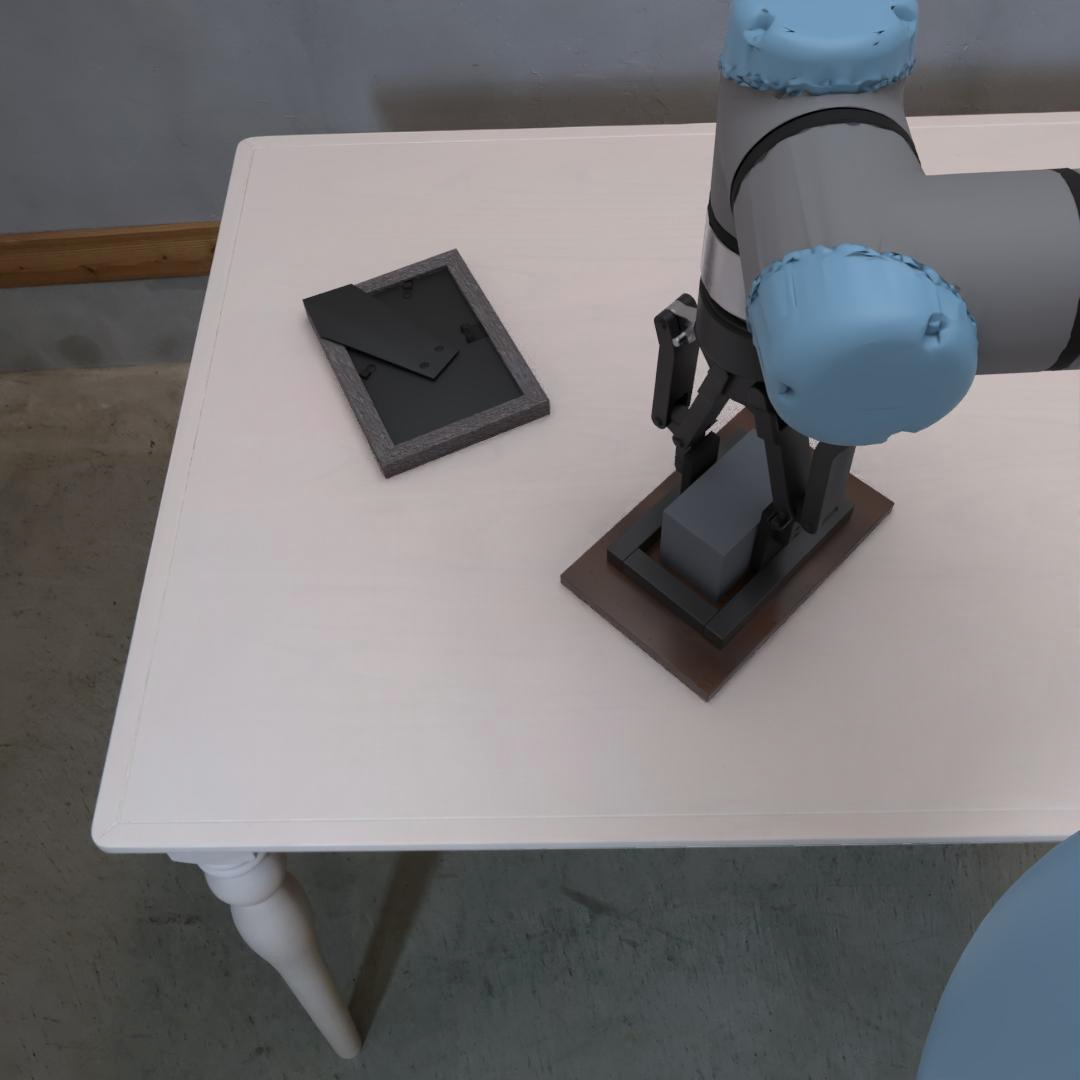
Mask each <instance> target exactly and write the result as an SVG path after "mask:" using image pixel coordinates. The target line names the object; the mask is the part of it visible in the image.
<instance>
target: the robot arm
mask: <svg viewBox="0 0 1080 1080" xmlns="http://www.w3.org/2000/svg"><path fill="white" fill-rule="evenodd" d="M919 9H920V8H919V4H918V0H731V3H730V7H729V12H728V18H727V20H728V21H727V24H726V25H727V26H726V31H725V36H724V43H723V47H722V52H721V53H720V54H719V56H718V58H717V68H718V70H720V73H719V83H718V84H719V86H718V98H717V108H716V109H717V111H716V120H715V121H716V122H715V132H714V133H715V135H714V146H713V154H712V155H713V156H712V166H711V167H712V168H711V177H710V178H711V179H710V188H709V189H710V190H709V194H708V195H709V196H708V203H707V207H706V214H705V223H704V232H703V241H702V248H701V249H702V250H701V258H700V267H699V268H700V278H699V282H698V293H697V300H696V299H695V298H694V296H692V295H691V294H690V293H688V292H687V293H686V292H684V293H682V294H681V295H679V296H678V297H677V298H675V299H674V300H673V301H672V302H671V303H669V305H667V306H666V307H665V308H663V310H661V311H660V312H659V313H657V314H656V315H655V316H654V317H653V324H654V325H653V326H654V329H655V333H656V337H657V342H658V345H659V346H658V354H657V361H656V362H657V363H656V370H655V379H654V387H653V395H652V396H653V397H652V405H651V413H650V418H651V422H652V423H653V424H654V426H655V427H656V428H658V429H659V430H665V429H666V428H667V429H668V430H669V431H670V433H672V436H671V440H672V443H673V445H674V446H675V453H674V463H673V464H674V467H675V470H677V471H678V472H679V473H681V474H682V479H681V489H680V495H681V494H682V493H683V492H684V491H685V490H686V489H687V488H689V487H690V486H691V485H692V484H693V483H694V482H695V481H696V480H697V479H698V478H699V477H701V476H702V475H703V474H704V473H705V472H706V471H707V470H708V469H709V468H710V467H711V466H713V465H714V464H715V463H716V462H717V457H718V450H719V443H720V436H719V435H717V434H716V433H717V432H715V431H713V430H710V431H709V432H707V431H708V430H709V429H710V428H712V427H713V426H714V425H715V424H717V422H718V421H719V419H717V418H718V417H719V415H720V414H721V413H722V411H723V409H724V408H725V406H726V405H727V403H728V402H729V400H731V401H733V402H735V403H738V404H740V405H742V406H743V407H746V408H747V409H748V410H749V411H750V412H752V413H753V414H754V418H755V425H756V432H757V436H758V437H759V438H761V439H763V440H764V443H765V450H766V457H767V464H768V471H769V478H770V485H771V492H772V498H773V501H772V502H771V503H770V504H769V505H768V506H767V507H766V508H765V509H764V510H763V511H762V515H761V519H760V524H759V529H758V533H757V538H756V542H755V547H754V552H753V556H752V561H751V565H750V566H751V567H753V568H754V569H755V570H757V571H758V572H759V571H760V570H761V569H762V568H763V567H764V566H765V565H766V564H767V563H768V562H769V561H770V560H771V559H772V558H773V557H774V556H775V555H776V554H777V553H778V552H779V551H780V550H781V549H782V548H783V547H786V546H788V545H789V544H790V543H791V542H792V541H793V540H794V539H795V538H796V537H797V536H798V535H799V534H800V533H801V532H802V529H804V530H805V531H806V532H807V533H809V534H812V535H814V534H816V533H817V532H818V531H819V530H820V529H821V528H822V527H823V526H824V525H825V524H826V523H827V522H828V521H829V520H830V519H831V518H832V517H833V516H834V515H835V514H836V513H837V512H838V511H839V510H840V508H841V506H842V502H843V498H844V494H845V490H846V485H847V481H848V477H849V473H851V468H852V464H853V461H854V458H855V457H854V456H855V454H856V453H855V451H856V449H857V447H865V446H873V445H880V444H884V443H886V442H888V439H889V438H890V437H892V436H893V435H896V434H898V433H901V432H904V433H911V434H912V433H913V434H916V433H919V432H921V431H924V430H926V429H927V428H930V427H931V426H933V425H934V424H936V423H938V422H940V420H942V419H943V418H945V417H946V416H947V415H949V414H950V413H951V412H952V411H954V409H956V408H957V406H958V405H959V404H960V403H961V402H962V401H963V399H965V397H966V396H967V395H968V393H969V391H970V389H971V387H972V385H973V383H974V381H975V377H976V376H987V375H989V376H990V375H1008V374H1028V373H1029V374H1030V373H1041V372H1057V371H1058V372H1059V371H1060V372H1061V371H1080V168H1079V167H1077V168H1069V167H1059V168H1058V167H1057V168H1045V169H1044V168H1043V169H1026V170H1025V169H1024V170H1004V171H1003V170H1001V171H983V172H982V171H981V172H980V171H979V172H961V173H945V174H926V172H925V171H924V169H923V167H922V162H921V160H920V157H919V153H918V151H917V148H916V145H915V142H914V140H913V136H912V134H911V129H910V126H909V124H908V120H907V118H906V114H905V110H904V93H905V87H906V84H907V81H908V77H909V76H911V74H912V73H913V70H914V69H915V66H916V61H917V60H916V56H915V50H916V45H917V44H916V43H917V38H918V31H919V30H918V29H919V23H920V10H919ZM700 351H701V353H702V355H703V357H704V360H705V361H706V363H707V366H708V368H709V369H708V370H707V372H706V373H707V374H706V376H705V377H704V379H703V381H702V382H701V384H700V386H699V387H698V389H697V391H696V392H697V395H696V397H695V398H694V400H693V401H692V396H693V390H694V384H695V378H696V372H697V366H698V359H699V354H700ZM691 402H692V403H691ZM810 439H812V440H814V441H818V442H817V444H816V446H815V448H814V449H815V450H814V453H813V457H812V462H811V453H810V447H811V446H810V445H811V444H810ZM915 1080H1080V829H1079V830H1077V831H1076V832H1074V833H1073V834H1071V835H1070V836H1069V837H1067V838H1065V839H1064V840H1062V841H1061V842H1059V843H1058V844H1056V845H1055V846H1053V848H1051V849H1049V851H1048V852H1047V853H1045V854H1044V855H1043V856H1042V857H1041V858H1040V859H1039V860H1037V861H1036V862H1035V863H1034V864H1032V866H1030V868H1028V869H1027V870H1026V871H1025V872H1024V873H1023V874H1022V875H1020V877H1019V878H1018V879H1016V880H1015V882H1014V883H1013V884H1012V885H1011V886H1010V887H1008V889H1007V890H1006V891H1005V892H1004V893H1003V894H1002V896H1001V897H999V899H998V900H997V901H996V902H995V904H994V905H993V906H992V908H991V909H990V910H989V911H988V913H987V914H986V915H985V916H984V918H983V919H982V921H981V922H980V924H979V926H978V927H977V929H975V932H974V933H973V935H972V937H971V938H970V940H969V942H968V943H967V944H966V946H965V948H964V950H963V951H962V954H961V955H960V957H959V958H958V961H957V963H956V964H955V966H954V969H953V970H952V972H951V974H950V976H949V978H948V981H947V983H946V986H945V988H944V989H943V991H942V994H941V996H940V999H939V1002H938V1005H937V1008H936V1011H935V1013H934V1017H933V1019H932V1021H931V1025H930V1026H929V1031H928V1033H927V1037H926V1040H925V1043H924V1045H923V1048H922V1052H921V1056H920V1060H919V1064H918V1069H917V1072H916V1076H915Z"/></svg>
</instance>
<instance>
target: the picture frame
mask: <svg viewBox="0 0 1080 1080" xmlns="http://www.w3.org/2000/svg"><path fill="white" fill-rule="evenodd" d="M301 301H302V303H303V304H302V305H303V307H304V310H305V313H306V317H307V318H308V321H309V323H310V326H311V327H312V329H313V331H314V333H315V335H316V337H317V340H318V341H319V343H320V346H321V348H322V350H323V352H324V354H325V356H326V358H327V360H328V362H329V364H330V367H331V368H332V371H333V372H334V374H335V377H336V379H337V381H338V382H339V385H340V387H341V389H342V391H343V393H344V395H345V398H346V399H347V402H348V403H349V406H350V408H351V410H352V412H353V414H354V416H355V418H356V420H357V422H358V424H359V426H360V428H361V431H362V432H363V435H364V436H365V438H366V440H367V442H368V444H369V447H370V449H371V451H372V453H373V455H374V457H375V459H376V461H377V463H378V466H379V467H380V470H381V472H382V473H383V475H384V478H385V479H389V478H392V477H394V476H396V475H397V476H398V475H399V474H402V473H404V472H407V471H410V470H412V469H414V468H417V467H419V466H422V465H424V464H427V463H430V462H432V461H434V460H437V459H440V458H442V457H445V456H448V455H449V454H452V453H455V452H457V451H459V450H462V449H466V448H467V447H470V446H472V445H475V444H478V443H480V442H482V441H484V440H487V439H490V438H492V437H495V436H497V435H500V434H503V433H505V432H507V431H510V430H512V429H515V428H517V427H521V426H523V425H526V424H528V423H531V422H533V421H536V420H537V419H541V418H543V417H546V416H548V415H551V404H550V403H551V402H550V399H549V396H547V394H546V392H545V391H544V388H543V387H542V385H541V384H540V382H539V381H538V379H537V377H536V376H535V374H534V372H533V371H532V369H531V367H530V366H529V364H528V362H527V361H526V359H525V358H524V356H523V355H522V353H521V351H520V350H519V347H518V346H517V344H516V343H515V342H514V340H513V338H512V337H511V335H510V333H509V332H508V330H507V329H506V327H505V325H504V323H503V322H502V321H501V319H500V317H499V315H498V314H497V312H496V311H495V309H494V307H493V306H492V304H491V303H490V301H489V299H488V298H487V296H486V294H485V292H484V291H483V289H482V288H481V286H480V284H479V283H478V281H477V280H476V278H475V277H474V275H473V273H472V271H471V269H470V268H469V267H468V264H467V263H466V262H465V260H464V258H463V257H462V255H461V254H460V252H459V250H458V249H457V248H453V249H450V250H447V251H444V252H442V253H439V254H436V255H433V256H430V257H428V258H425V259H422V260H420V261H416V262H414V263H411V264H407V265H405V266H402V267H400V268H397V269H395V270H392V271H389V272H386V273H384V274H381V275H378V276H375V277H372V278H370V279H367V280H364V281H361V282H359V283H355V284H354V283H348V284H346V285H343V286H339V287H336V288H333V289H331V290H327V291H324V292H321V293H317V294H315V295H311V296H308V297H306V298H302V300H301Z"/></svg>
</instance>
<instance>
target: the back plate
mask: <svg viewBox="0 0 1080 1080" xmlns="http://www.w3.org/2000/svg"><path fill="white" fill-rule="evenodd" d="M752 429H755V430H756V425H755V418H754V414H753V413H752V412H750V411H749V410H748V409H747V408H746V407H745V406H743V408H742V409H741V410H739V412H738V413H736V415H734V416H733V417H732V418H731V419H730V420H729V421H727V423H725V424H724V426H722V427H721V428H720V429H719V430H717V432H715V433H716V434H717V435H719V436H720V443H719V450H718V457H717V461H718V460H719V459H720V458H721V457H722V456H723V455H725V454H726V453H727V452H728V451H729V450H730V449H731V448H732V447H733V446H734V445H735V444H737V443H738V442H739V441H740V440H741V439H742V438H743V437H744V436H745V435H746V434H747V433H749V432H750V431H751V430H752ZM814 450H815V448H813V447H812V446H810V453H811V462H812V457H813V453H814ZM681 479H682V474H681V473H679V472H678V471H677V470H676V469H675V470H674V471H673V472H672V473H671V474H669V475H668V476H667V477H666V478H665V479H664V480H663V481H662V482H661V483H660V484H658V486H656V487H655V488H654V489H653V490H652V491H651V492H649V494H647V495H646V496H645V497H644V498H643V499H642V500H641V501H639V503H637V504H636V506H634V507H633V508H632V509H631V510H630V511H629V512H628V513H627V514H626V515H624V516H623V518H621V520H619V521H618V522H617V523H616V524H615V525H613V526H612V527H611V528H610V529H609V530H608V531H607V532H606V533H605V534H604V535H603V536H601V537H600V538H599V539H597V541H596V542H594V544H592V546H590V547H589V548H588V549H587V550H586V551H585V552H584V553H583V554H581V556H579V558H578V559H577V560H575V561H574V562H573V563H572V564H571V565H570V566H568V567H567V569H565V570H564V571H563V572H562V573H561V574H560V583H561V584H562V585H563V586H565V587H566V588H567V589H568V590H570V591H571V593H573V594H574V595H576V596H577V597H578V598H579V599H580V600H582V601H583V602H584V603H585V604H586V605H588V606H589V607H590V608H591V609H592V610H593V611H595V612H596V613H597V614H598V615H600V616H601V617H602V618H604V619H605V620H606V621H607V622H608V623H610V624H611V625H612V626H613V627H615V628H616V629H617V630H618V631H619V632H621V633H622V634H623V635H624V636H625V637H627V638H628V639H629V640H630V641H631V642H633V643H634V644H635V645H636V646H638V647H639V648H640V649H641V650H642V651H644V652H645V653H646V654H648V655H649V656H650V657H651V658H652V659H653V660H655V661H656V662H657V663H659V664H660V665H661V666H662V667H663V668H665V669H666V670H667V671H669V672H670V673H671V674H672V675H674V677H675V678H676V679H678V680H679V681H680V682H682V683H683V684H684V685H685V686H687V687H688V688H689V689H690V690H691V691H693V692H694V693H695V694H696V695H698V697H700V698H701V699H702V700H704V701H705V703H708V702H709V701H710V700H711V699H712V698H714V696H715V695H716V694H717V693H718V692H719V691H720V690H721V689H722V688H723V686H725V685H726V684H727V683H728V682H729V680H731V678H732V677H734V675H735V674H736V673H737V672H738V671H739V670H740V669H741V668H742V667H743V666H744V665H745V664H746V663H747V662H748V661H749V660H750V659H751V658H752V656H754V655H755V653H757V651H758V650H759V649H760V648H761V647H762V646H764V644H766V642H767V641H768V640H769V639H770V638H771V637H772V636H773V635H774V634H775V633H776V632H777V631H778V629H780V628H781V626H782V625H784V623H785V622H786V621H788V620H789V618H790V617H791V616H793V614H794V613H795V612H796V611H797V610H798V609H799V608H800V607H801V606H802V605H803V603H805V602H806V600H807V599H809V598H810V597H811V595H812V594H813V593H815V591H816V590H817V589H818V588H819V587H820V586H821V585H822V584H823V583H824V582H825V581H826V580H827V579H828V578H829V577H830V576H831V574H833V572H834V571H835V570H836V569H837V568H838V567H840V565H841V564H842V563H843V562H844V561H845V560H846V559H847V558H848V557H849V556H850V555H851V554H852V553H853V552H854V551H855V550H856V549H857V548H858V547H859V546H860V545H861V543H862V542H864V540H866V539H867V537H869V536H870V534H871V533H872V532H873V531H874V530H875V529H876V528H877V527H878V526H879V525H880V524H881V523H882V522H883V521H884V520H885V518H886V517H888V515H890V513H891V512H892V511H893V509H894V506H895V502H894V501H892V500H891V499H890V498H889V497H887V496H886V495H884V494H882V493H881V492H880V491H878V490H876V489H875V488H873V487H871V486H870V485H869V484H867V483H866V482H864V481H863V480H861V479H860V478H858V477H857V476H855V475H854V474H852V473H851V472H850V473H849V477H848V481H847V485H846V490H845V494H844V498H843V502H842V506H841V508H840V510H839V511H838V512H837V513H836V514H835V515H834V516H833V517H832V518H831V519H830V520H829V521H828V522H827V523H826V524H825V525H824V526H823V527H822V528H821V529H820V530H819V531H818V532H817V533H816V534H814V535H812V534H809V533H807V532H806V531H805V530H804V529H802V532H801V533H800V534H799V535H798V536H797V537H796V538H795V539H794V540H793V541H792V542H791V543H790V544H789V545H788V546H786V547H783V548H782V549H781V550H780V551H779V552H778V553H777V554H776V555H775V556H774V557H773V558H772V559H771V560H770V561H769V562H768V563H767V564H766V565H765V566H764V567H763V568H762V569H761V570H760V571H759V572H758V571H757V570H755V569H754V568H753V567H752V568H751V569H750V570H749V571H748V572H747V573H746V574H745V575H744V576H743V577H742V578H741V579H740V580H739V581H738V582H737V583H736V584H735V585H734V586H733V587H732V588H731V589H730V590H729V591H728V592H727V593H726V594H725V595H724V596H723V597H722V598H721V599H720V600H719V601H718V602H717V603H714V602H713V601H712V600H711V599H709V598H708V597H707V596H705V595H704V594H703V593H702V592H700V591H699V590H698V589H696V588H695V587H694V586H693V585H691V584H690V583H689V582H687V581H686V580H685V579H684V578H682V577H681V576H680V575H678V574H677V573H676V572H675V571H673V570H672V569H671V568H669V567H668V566H667V565H666V564H664V563H663V562H662V561H660V560H659V556H660V543H661V531H662V519H663V511H664V510H665V509H666V508H667V507H668V506H669V505H670V504H671V503H672V502H673V501H674V500H675V499H677V498H678V497H679V496H680V489H681Z"/></svg>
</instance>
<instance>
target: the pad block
mask: <svg viewBox="0 0 1080 1080" xmlns="http://www.w3.org/2000/svg"><path fill="white" fill-rule="evenodd" d="M772 501H773V498H772V492H771V485H770V478H769V471H768V464H767V457H766V450H765V443H764V440H763V439H761V438H759V437H758V436H757V432H756V430H755V429H752V430H751V431H750V432H749V433H747V434H746V435H745V436H744V437H743V438H742V439H741V440H740V441H739V442H738V443H737V444H735V445H734V446H733V447H732V448H731V449H730V450H729V451H728V452H727V453H726V454H725V455H723V456H722V457H721V458H720V459H719V460H718V461H717V462H716V463H715V464H714V465H713V466H711V467H710V468H709V469H708V470H707V471H706V472H705V473H704V474H703V475H702V476H701V477H699V478H698V479H697V480H696V481H695V482H694V483H693V484H692V485H691V486H690V487H689V488H687V489H686V490H685V491H684V492H683V493H682V494H681V495H680V496H679V497H678V498H677V499H675V500H674V501H673V502H672V503H671V504H670V505H669V506H668V507H667V508H666V509H665V510H664V511H663V519H662V531H661V543H660V556H659V560H660V561H662V562H663V563H664V564H666V565H667V566H668V567H669V568H671V569H672V570H673V571H675V572H676V573H677V574H678V575H680V576H681V577H682V578H684V579H685V580H686V581H687V582H689V583H690V584H691V585H693V586H694V587H695V588H696V589H698V590H699V591H700V592H702V593H703V594H704V595H705V596H707V597H708V598H709V599H711V600H712V601H713V602H714V603H717V602H718V601H719V600H720V599H721V598H722V597H723V596H724V595H725V594H726V593H727V592H728V591H729V590H730V589H731V588H732V587H733V586H734V585H735V584H736V583H737V582H738V581H739V580H740V579H741V578H742V577H743V576H744V575H745V574H746V573H747V572H748V571H749V570H750V569H751V568H752V567H751V566H750V565H751V561H752V556H753V552H754V547H755V542H756V538H757V533H758V529H759V524H760V519H761V515H762V511H763V510H764V509H765V508H766V507H767V506H768V505H769V504H770V503H771V502H772Z"/></svg>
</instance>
